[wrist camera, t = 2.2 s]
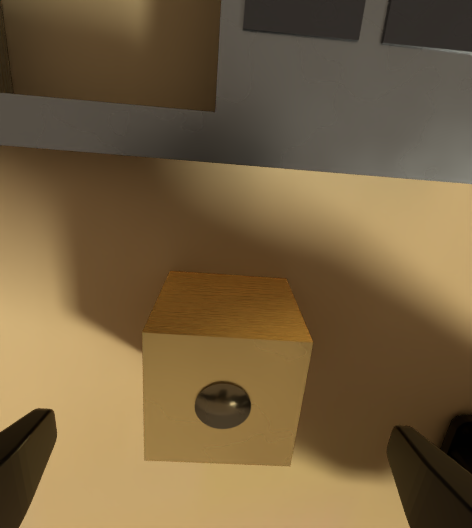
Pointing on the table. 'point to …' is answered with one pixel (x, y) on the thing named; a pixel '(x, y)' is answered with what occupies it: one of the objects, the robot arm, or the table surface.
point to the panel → (295, 94)
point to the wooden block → (223, 370)
